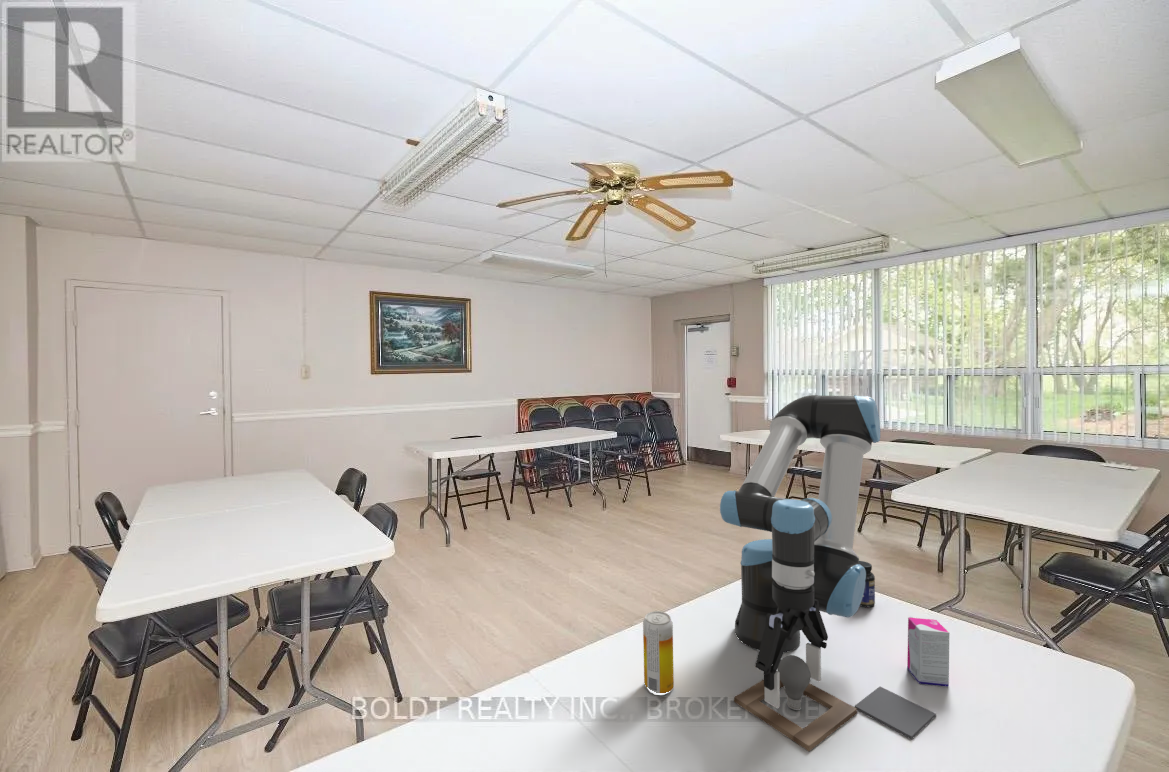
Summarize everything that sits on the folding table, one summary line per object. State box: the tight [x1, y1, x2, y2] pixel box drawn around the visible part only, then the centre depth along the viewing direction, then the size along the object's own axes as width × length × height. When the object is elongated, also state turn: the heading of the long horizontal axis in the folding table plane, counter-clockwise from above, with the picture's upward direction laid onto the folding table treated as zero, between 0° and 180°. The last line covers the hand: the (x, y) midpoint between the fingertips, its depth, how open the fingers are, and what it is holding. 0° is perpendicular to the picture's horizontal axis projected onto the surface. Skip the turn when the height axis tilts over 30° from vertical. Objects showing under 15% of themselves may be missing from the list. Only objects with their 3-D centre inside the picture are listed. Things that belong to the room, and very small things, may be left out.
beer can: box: [642, 610, 675, 693], centre depth 104 cm, size 6×6×15 cm
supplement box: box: [906, 616, 951, 688], centre depth 106 cm, size 6×6×12 cm
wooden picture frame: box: [733, 678, 858, 752], centre depth 97 cm, size 16×16×1 cm
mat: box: [854, 686, 937, 740], centre depth 95 cm, size 10×10×1 cm
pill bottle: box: [859, 560, 876, 608], centre depth 139 cm, size 6×6×11 cm
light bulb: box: [777, 654, 812, 711], centre depth 97 cm, size 6×6×10 cm
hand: (793, 690), depth 97 cm, fingers open, 13 cm apart
